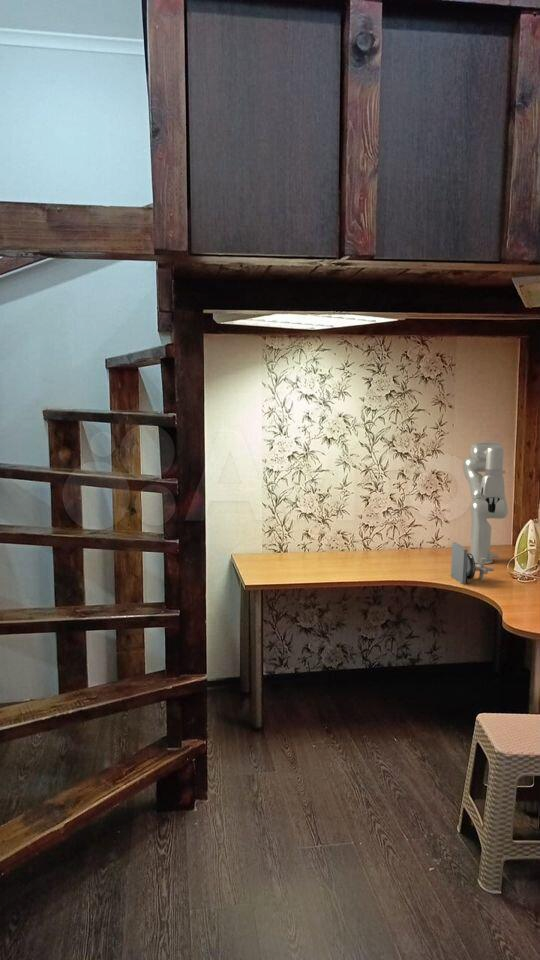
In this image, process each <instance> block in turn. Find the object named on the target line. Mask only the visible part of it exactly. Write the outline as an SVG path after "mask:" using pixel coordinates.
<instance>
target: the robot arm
mask: <svg viewBox="0 0 540 960" xmlns="http://www.w3.org/2000/svg"><path fill="white" fill-rule="evenodd" d="M504 456H505V449H504V447H503V446H502V444H501V443H500V442H498V441H478V442H476V443H473V444H472V445H471V447H470V455H469V456H466V457H465V458H464V459H463V460H462V461H463V462H462V471H463V474H464V477H465V479H466V480H467V482H468V485H469V489H470V497H471V499H472V502H471V503H470V515H471V517H470V518H471V528H470V529H471V530H470V531H471V532H470V547H469V549H470V550H469V553H470V554H472V556H473V558H474V560H475V564H476V565H477V564H481V558H485V565H490V564H492V563H493V561H494V560H493V559H494V558H500V553H492V552H491V541H492V526H491V524H490V522H489V521H488V520H487V519H495V520H496V519H497V520H501V519H505V518H506V517H507V516H508V514H509V508H508V503H507V499H506V493H505V478H504V474H505V473H506V471H505V470H504V469H503V465H504ZM481 473H484V475H482V474H481Z"/></svg>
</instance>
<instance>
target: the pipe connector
mask: <svg viewBox="0 0 540 960" xmlns="http://www.w3.org/2000/svg"><path fill="white" fill-rule="evenodd" d="M476 571H477V572H478V571H479V576H478V580H479V581H484V576H485V575H487V574H488V573H489V572H494V571H495V570H494V567H491V566H486V564H485V558H481V564H477V563H476V566H475V572H476Z"/></svg>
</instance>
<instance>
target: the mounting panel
mask: <svg viewBox="0 0 540 960" xmlns="http://www.w3.org/2000/svg"><path fill="white" fill-rule="evenodd" d="M467 553H468V549H467V548H466V547H465V546H463V545H461V544H459V543H458V542H455V541H454V542H452V549H451V566H450V569H451V570H450V577H451V576H452V577H451V578H452V579H454V580H455V579H456V580H455V581H457V582H458V581H459V582H460V585H462V584H466V583H472V579H473V578H472V579H470V578H468V577H466V568H467ZM459 582H458V583H459Z"/></svg>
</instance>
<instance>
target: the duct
mask: <svg viewBox="0 0 540 960" xmlns="http://www.w3.org/2000/svg"><path fill="white" fill-rule="evenodd" d="M475 567H476V563H475V560H474V558H473V556H472V554H470V552H467V568H466V577H468V578H470V579H474V577H475V576H476V575H475V573H476V571H475Z"/></svg>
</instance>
